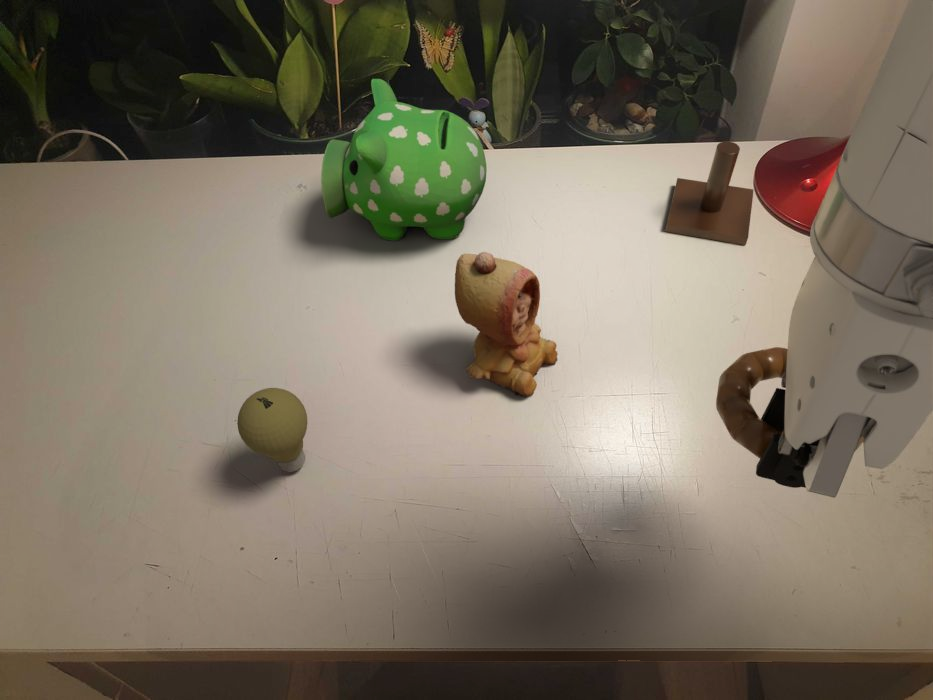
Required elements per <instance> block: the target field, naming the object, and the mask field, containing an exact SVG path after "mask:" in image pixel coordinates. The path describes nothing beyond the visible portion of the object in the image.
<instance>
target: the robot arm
mask: <svg viewBox="0 0 933 700" xmlns="http://www.w3.org/2000/svg"><path fill="white" fill-rule="evenodd" d="M894 31H895V32H894V34H893V36H892V39H891V40H890V43H889V45H888V48H887V51H886V52H885V55H884V57H883V59H882V62H881V63H880V67H879V68H878V71H877V73H876V75H875V78H874V80H873V82H872V84H871V87H870V89H869V91H868V94H867V96H866V99H865V100H864V103H863V105H862V108H861V110H860V113H859V114H858V117H857V119H856V121H855V124H854V127H853V129H852V130H851V133H850V136H849V138H848V140H847V143H846V145H845V147H844V150H843V152H842V154H841V156H840V159H839V161H838V164H837V166H836V169H835V171H834V173H833V175H832V178H831V180H830V183H829V185H828V187H827V189H826V191H825V194H824V196H823V198H822V201H821V203H820V205H819V208H818V210H817V212H816V214H815V217H814V219H813V221H812V224H811V226H810V230H809V243H810V246H811V250H812V253H813V255H814V257H813V260H812V262H811V263H810V266H809V268H808V270H807V271H806V274H805V277H804V279H803V281H802V283H801V285H800V288H799V290H798V292H797V295H796V298H795V300H794V303H793V307H792V309H791V314H790V319H789V326H788V334H787V335H788V337H787V349H788V350H787V366H786V368H785V370H784V373H783V376H782V378H781V385H780V386H781V388H779V387H776V388H775V389H774V392H773V394H772V396H771V398H770V400H769V402H768V404H767V406H766V408H765V410H764V411H763V414H762V416H761V418H760V419H761V420H763V421H764V422H766V423H767V424H769V425H770V426H772V427H773V428H775V429H776V430H777V431H779V432H782V434H774V435H773V436H772V438H771V440H770V442H769V444H768V446H767V447H766V449H765V451H764V453H763V455H762V457H761V458H759V460H758V461H757V464H756V467H755V468H756V469H755V475H756V476H757V477H759V478H762V479H767V480H770V481H774V482H775V483H776V484H777V485H780V486H784V487H788V488H791V489H798V488H803V489H804V488H805V490H806V492H809V493H813V494H816V495H821V496H826V497H830V498H834V499H835V498H837V495H838V493H839V491H840V489H841V486H842V483H843V481H844V478H845V476H846V474H847V471H848V469H849V467H850V464H851V462H852V459H853V457H854V454H855V452H856V451H855V449H856V447H857V445H858V442H859V440H860V437H864V440H863V443H862V444H863V456H864V457H863V458H864V466H865V467H867V468H874V469H879V470H883V469H886V468H888V467H889V466H891V465H892V464H893V463H894V462H895V461H896V460H897V459H898V458H899V456H901V454H902V453H903V452H904V450H905V449H906V448H907V446H909V444H910V443H911V442H912V440H913V439H914V437H915V436H916V435H917V433H918V432H919V431H920V429H921V428H922V427H923V425H924V424H925V422H926V420H927V419H928V418H929V417H930V415H931V414H932V412H933V0H908V1H907V4H906V6H905V8H904V10H903V13H902V15H901V18H900V20H899V22H898V25H897V28H896V30H894Z"/></svg>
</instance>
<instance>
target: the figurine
mask: <svg viewBox="0 0 933 700" xmlns="http://www.w3.org/2000/svg"><path fill="white" fill-rule="evenodd" d="M540 286H541V285H540V281H539V278H538V276H537V275H536V274H535V273H534V272H533V271H532V270H530V269H529V268H527V267H525V266H523V265H522V264H520V263H517V262H516V261H511V260H508V259H503V258H499V257H495V256H494V255H493V254H492V253H490V252H487V251H482V252H479V253H478V254H474V253H463V254H460V256H459V257H458V259H457V261H456V265H455V273H454V299H455V304H456V308H457V311H458V313H459V316H460V317H461V319H462V320H463V322H464V323H465V324H467V325H470V326H472V327H474V328H475V329H476V330H477V331H478V334H477V335H476V337H475V339H474V343H473V352H474V361H473V362H472V363H471V364H468V365H467V366H466V368H465V369H466V371H467V374H468V375H469V377H471V378H473V379H478V380H480V379H482V378H483V379H486V380H489V381H490V382H491V383H493V384H494V385H497V386H499V387H503V388H504V389H506V390H509V391H511V392H513V393H514V395H515V396H519V397H521V398H523V397H530V396H533V394H534V393H535V391H536V389H537V386H538V385H537V381H536V379H535V378H534V377H535V376H537V375H538V372H539V371H540V369H541V368H542V366H543V365H555V364H556V363H557V362H558V351H557V350H556V349H557V343H556V342H555V341H554V340H551V339H546V338H542V337H541V331H542V329H541V327H540V326H539V325H538V324H537V323H535V322H536V318H537V317H538V312H539V308H540V301H541V299H540V298H541V288H540Z"/></svg>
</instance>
